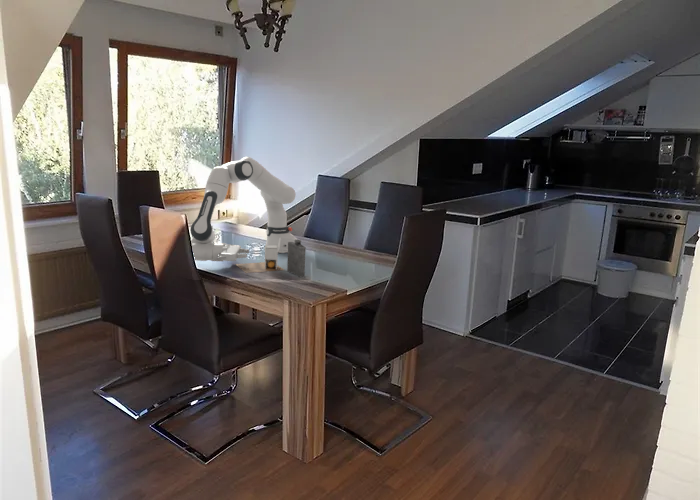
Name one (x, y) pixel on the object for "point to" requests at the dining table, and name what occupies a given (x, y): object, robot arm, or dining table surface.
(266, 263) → the white carton
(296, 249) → the flask
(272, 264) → the orange ball
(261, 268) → the tan flat board
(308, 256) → the dining table surface
